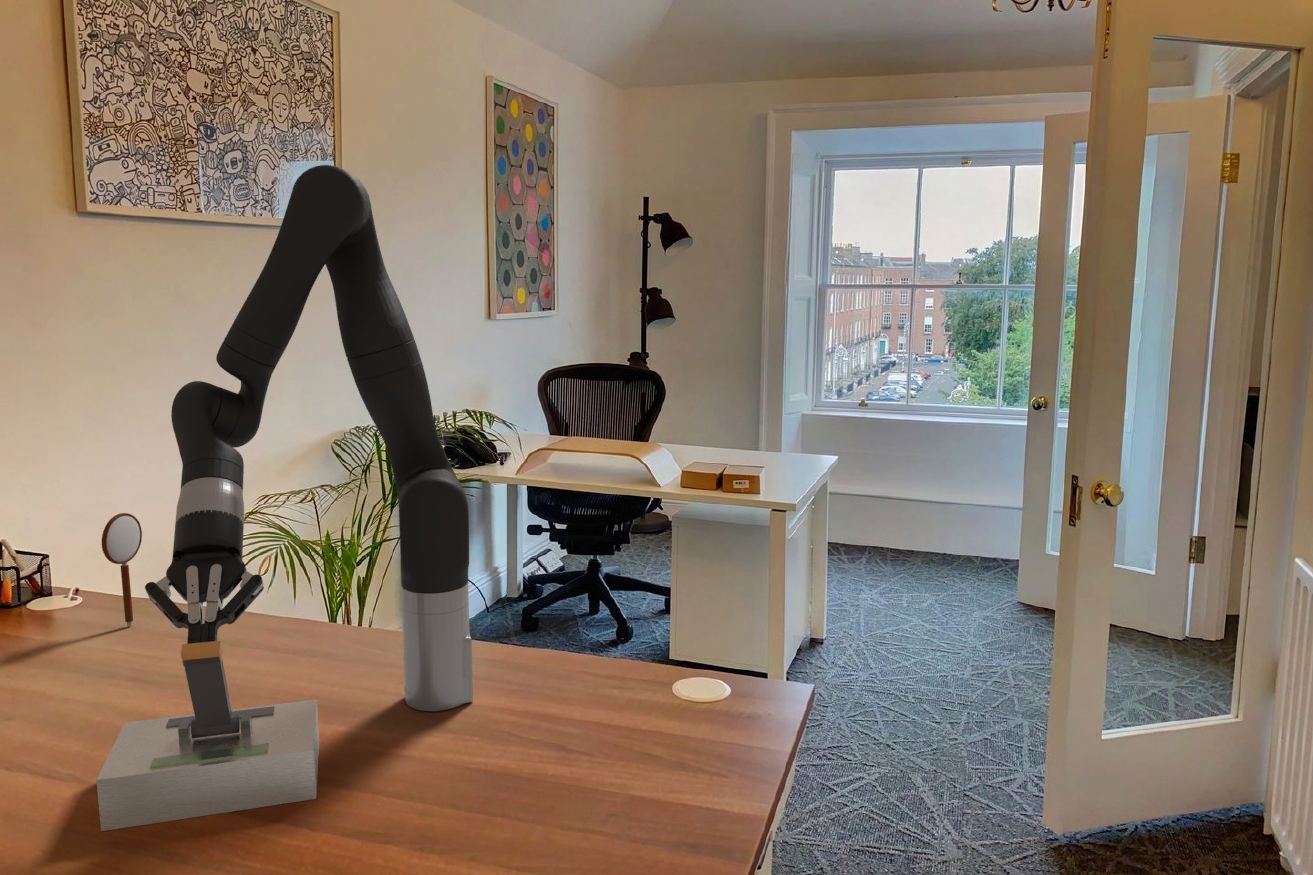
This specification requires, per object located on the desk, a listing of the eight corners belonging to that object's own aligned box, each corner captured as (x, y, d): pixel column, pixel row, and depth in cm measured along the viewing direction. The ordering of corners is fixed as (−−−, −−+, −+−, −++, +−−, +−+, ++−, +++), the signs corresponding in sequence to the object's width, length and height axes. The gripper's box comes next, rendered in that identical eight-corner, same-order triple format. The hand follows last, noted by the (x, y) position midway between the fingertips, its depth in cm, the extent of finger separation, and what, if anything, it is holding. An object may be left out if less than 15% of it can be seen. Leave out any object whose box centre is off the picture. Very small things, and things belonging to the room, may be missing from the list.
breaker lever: (240, 720, 113) (226, 637, 104) (239, 736, 111) (225, 652, 102) (194, 726, 111) (176, 642, 102) (192, 742, 109) (174, 657, 101)
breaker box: (319, 742, 122) (316, 684, 120) (316, 798, 108) (312, 734, 107) (128, 768, 115) (123, 706, 113) (101, 831, 102) (94, 762, 100)
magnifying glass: (115, 636, 157) (105, 520, 154) (106, 635, 157) (96, 519, 154) (151, 618, 165) (142, 508, 162) (143, 617, 166) (134, 507, 162)
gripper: (142, 511, 109) (127, 651, 99) (265, 504, 113) (262, 639, 103) (155, 542, 115) (141, 677, 105) (271, 535, 119) (268, 664, 109)
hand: (201, 658), depth 104 cm, fingers closed
